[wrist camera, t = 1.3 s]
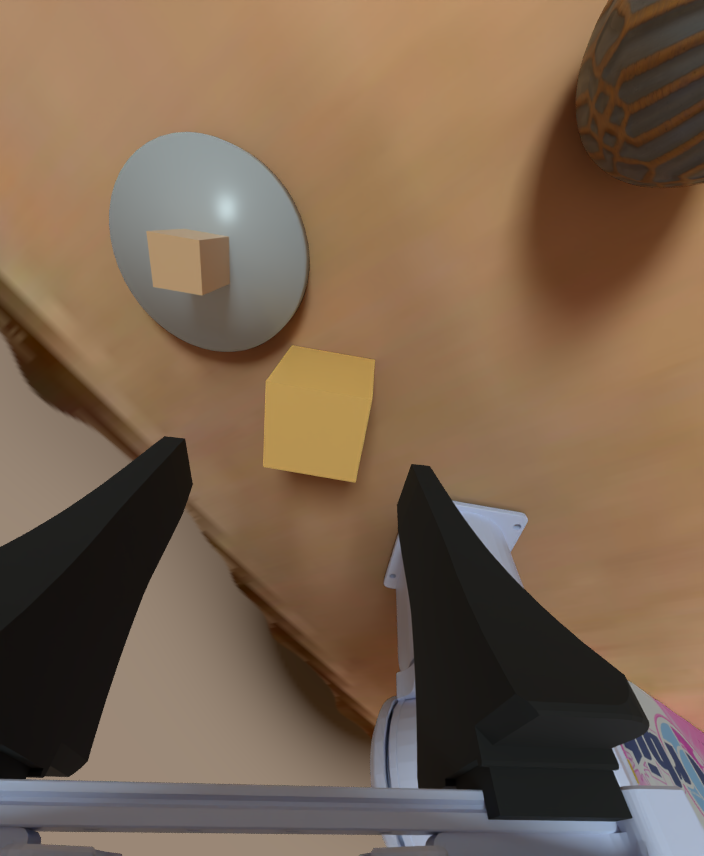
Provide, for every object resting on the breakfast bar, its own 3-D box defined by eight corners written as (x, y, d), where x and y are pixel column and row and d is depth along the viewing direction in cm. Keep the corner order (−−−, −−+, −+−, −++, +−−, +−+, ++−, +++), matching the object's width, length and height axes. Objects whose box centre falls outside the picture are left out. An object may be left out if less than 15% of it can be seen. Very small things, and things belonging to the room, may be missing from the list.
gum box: (717, 738, 38) (866, 972, 26) (643, 757, 41) (746, 970, 30) (578, 644, 31) (693, 897, 20) (504, 675, 35) (565, 907, 23)
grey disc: (301, 357, 20) (283, 388, 16) (140, 329, 20) (86, 354, 16) (318, 157, 15) (298, 139, 12) (109, 120, 15) (23, 90, 12)
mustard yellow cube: (361, 430, 22) (355, 482, 18) (286, 417, 22) (263, 466, 18) (375, 359, 20) (372, 399, 15) (291, 345, 20) (266, 381, 15)
